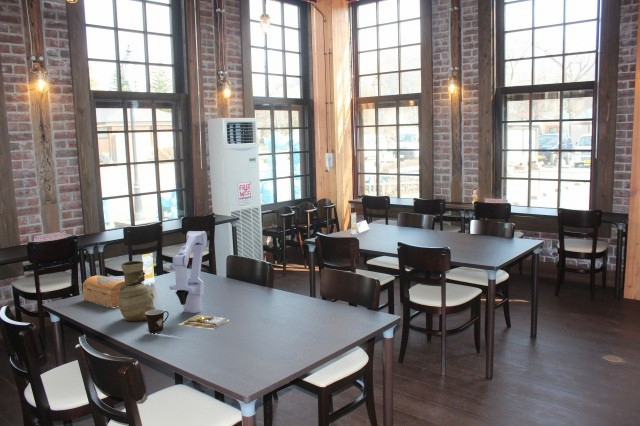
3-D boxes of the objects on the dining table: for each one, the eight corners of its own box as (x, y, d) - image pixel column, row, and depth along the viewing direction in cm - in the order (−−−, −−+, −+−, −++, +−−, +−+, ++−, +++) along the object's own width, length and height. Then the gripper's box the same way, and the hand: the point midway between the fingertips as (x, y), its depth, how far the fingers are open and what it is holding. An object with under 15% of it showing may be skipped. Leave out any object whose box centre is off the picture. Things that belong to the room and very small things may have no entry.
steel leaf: (203, 325, 286) (203, 320, 285) (213, 320, 293) (212, 315, 293) (216, 327, 283) (216, 322, 282) (225, 322, 290) (225, 317, 290)
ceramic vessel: (162, 311, 315) (158, 257, 311) (153, 323, 294) (148, 266, 290) (127, 312, 315) (123, 258, 311) (115, 325, 294) (110, 267, 290)
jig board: (177, 326, 288) (177, 322, 288) (195, 317, 302) (195, 313, 301) (213, 331, 280) (212, 327, 279) (229, 321, 293) (229, 317, 293)
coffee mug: (148, 336, 276) (147, 315, 274) (145, 331, 283) (143, 311, 282) (173, 331, 281) (171, 311, 280) (169, 326, 289) (167, 307, 287)
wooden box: (137, 302, 335) (135, 278, 333) (111, 309, 322) (109, 285, 320) (108, 294, 353) (107, 272, 351) (83, 300, 341) (81, 278, 339)
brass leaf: (187, 323, 290) (186, 318, 289) (196, 318, 297) (196, 314, 297) (199, 324, 287) (199, 320, 287) (208, 319, 294) (208, 315, 294)
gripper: (164, 279, 292) (166, 305, 294) (188, 281, 286) (190, 307, 288) (173, 275, 298) (175, 301, 300) (197, 277, 292) (198, 303, 294)
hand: (183, 304), depth 294 cm, fingers closed
